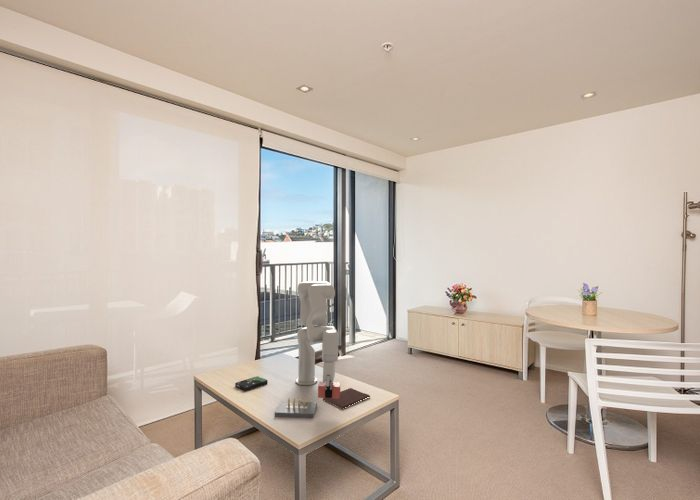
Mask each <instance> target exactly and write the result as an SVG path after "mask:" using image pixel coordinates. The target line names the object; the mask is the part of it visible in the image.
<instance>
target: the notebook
mask: <svg viewBox="0 0 700 500" xmlns="http://www.w3.org/2000/svg"><path fill="white" fill-rule="evenodd" d="M367 397H370V398H371V396H370V394H367V393H364V392H361V391H359V390H356V389H354V388H352V387H349V388H346V389H344V390H340V398H339V399H335V398H322V401H324V400H325V401H324V402H326V401H327V403H328V402H329V403H328V404H330V403H331V404H330V405H332V404H334V405H336V406H338V407H340V408H342V409H343V408H345V407H348V406H349V405H352V404H354V403H356V402H358V401H360V400H363V399H365V398H367ZM334 405H333V406H334ZM336 406H335V407H336ZM352 406H353V405H352ZM338 407H337V408H338ZM340 408H339V409H340ZM348 408H349V407H348ZM342 409H341V410H342ZM345 409H346V408H345ZM343 410H344V409H343Z"/></svg>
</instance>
